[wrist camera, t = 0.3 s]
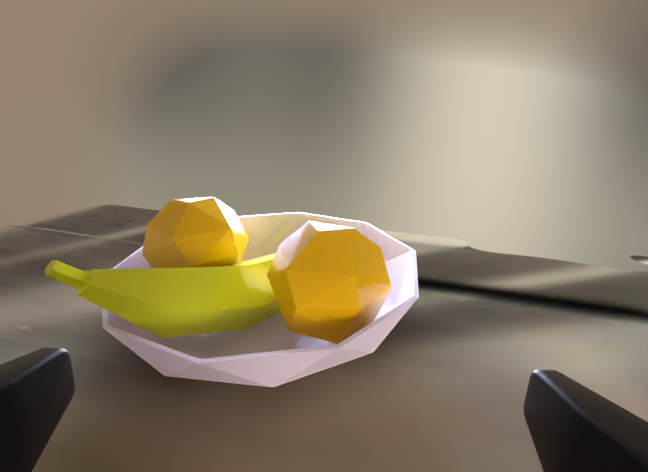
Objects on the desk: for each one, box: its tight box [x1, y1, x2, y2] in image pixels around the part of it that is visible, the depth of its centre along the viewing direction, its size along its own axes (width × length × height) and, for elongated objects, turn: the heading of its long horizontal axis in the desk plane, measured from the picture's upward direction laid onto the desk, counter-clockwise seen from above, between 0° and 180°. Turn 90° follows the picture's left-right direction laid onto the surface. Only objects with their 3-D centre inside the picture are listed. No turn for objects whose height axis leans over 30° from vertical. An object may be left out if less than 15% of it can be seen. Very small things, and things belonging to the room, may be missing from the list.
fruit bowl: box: [45, 197, 419, 388], centre depth 37 cm, size 28×27×11 cm
